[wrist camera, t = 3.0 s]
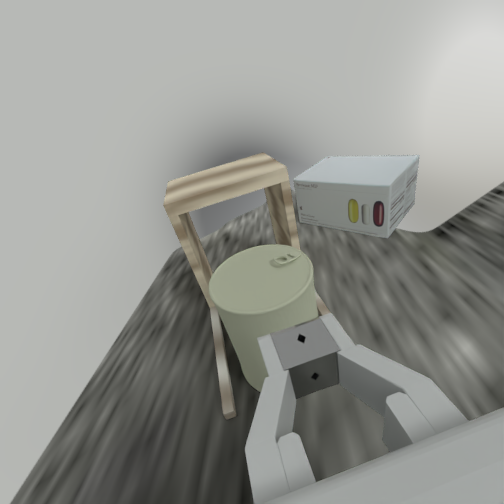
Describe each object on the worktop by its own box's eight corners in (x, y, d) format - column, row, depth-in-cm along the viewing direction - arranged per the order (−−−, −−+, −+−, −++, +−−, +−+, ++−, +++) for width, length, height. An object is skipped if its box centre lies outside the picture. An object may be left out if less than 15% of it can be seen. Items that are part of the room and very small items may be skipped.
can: (345, 363, 26) (338, 269, 20) (266, 417, 23) (229, 330, 17) (293, 310, 33) (275, 229, 27) (228, 347, 31) (193, 268, 25)
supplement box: (298, 224, 52) (291, 178, 47) (330, 196, 59) (327, 154, 54) (387, 240, 41) (390, 183, 36) (415, 204, 48) (420, 152, 43)
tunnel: (364, 367, 25) (364, 215, 16) (226, 419, 24) (147, 287, 15) (283, 247, 46) (263, 152, 37) (206, 273, 45) (168, 181, 36)
